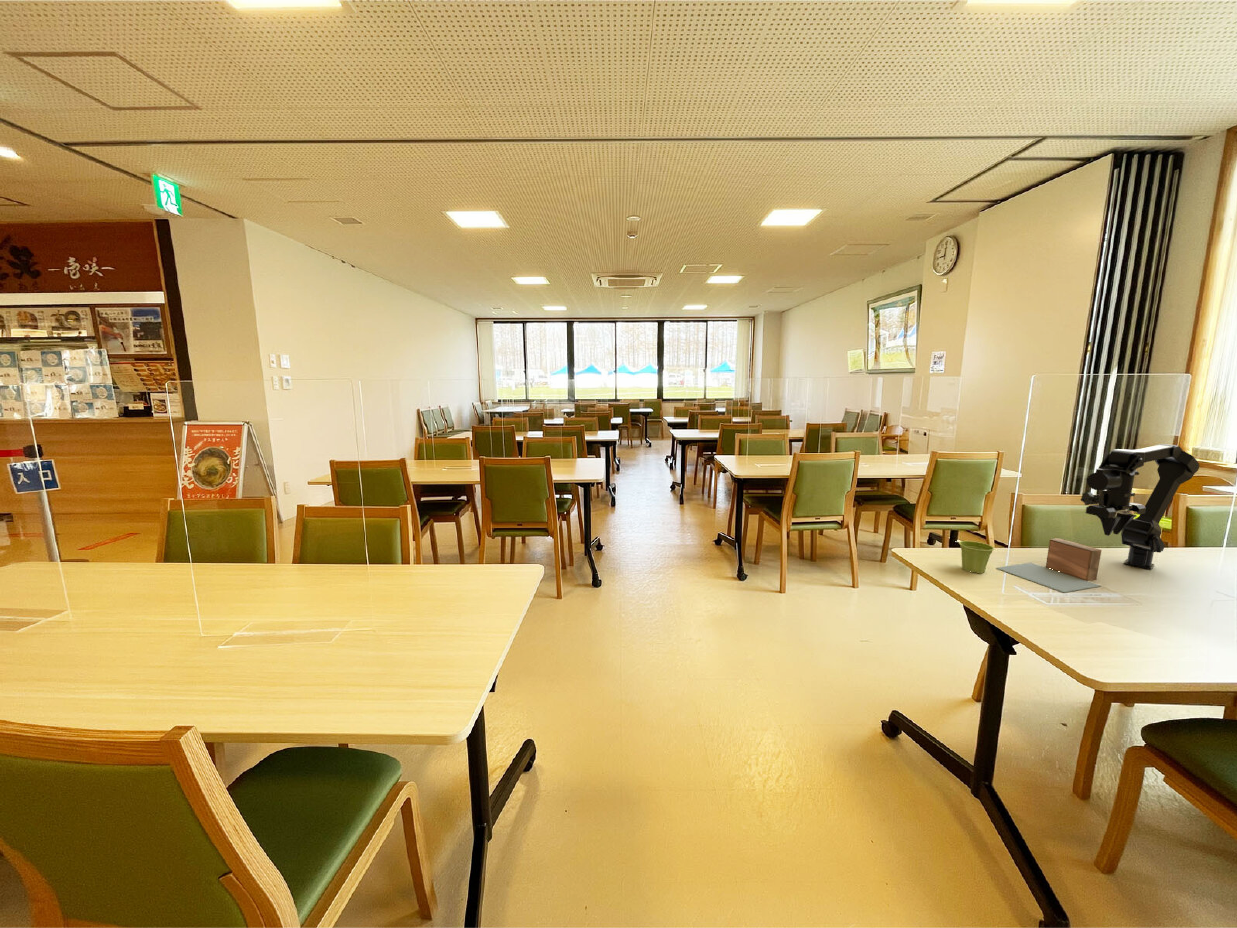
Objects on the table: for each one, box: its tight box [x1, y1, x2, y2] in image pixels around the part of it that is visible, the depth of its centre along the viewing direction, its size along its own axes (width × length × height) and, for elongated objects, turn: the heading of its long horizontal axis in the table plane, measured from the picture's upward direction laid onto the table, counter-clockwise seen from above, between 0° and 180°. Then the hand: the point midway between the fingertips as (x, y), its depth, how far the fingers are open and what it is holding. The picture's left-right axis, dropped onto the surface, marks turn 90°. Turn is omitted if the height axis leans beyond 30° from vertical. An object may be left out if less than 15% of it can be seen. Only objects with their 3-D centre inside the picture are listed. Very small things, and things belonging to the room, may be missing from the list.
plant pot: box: [958, 540, 995, 574], centre depth 163 cm, size 9×9×9 cm
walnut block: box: [1045, 537, 1102, 582], centre depth 160 cm, size 4×12×10 cm, turn 16°
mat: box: [996, 562, 1102, 594], centre depth 158 cm, size 16×20×1 cm
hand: (1111, 534), depth 162 cm, fingers open, 4 cm apart
